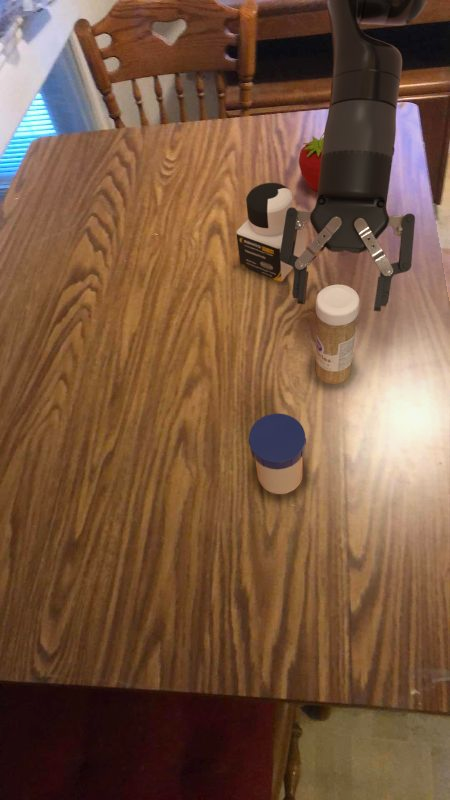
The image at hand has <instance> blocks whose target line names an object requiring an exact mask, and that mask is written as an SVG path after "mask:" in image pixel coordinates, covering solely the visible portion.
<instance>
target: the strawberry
mask: <svg viewBox="0 0 450 800" xmlns="http://www.w3.org/2000/svg"><path fill="white" fill-rule="evenodd" d="M323 137H324V132H323V133H322V134H321V136H320V138H319V139H317V138H316V137H315V136H312V141H309V142H303V145H304V146H303V147H302V149H301V150H300V152H299V156H298V166H299V169H300V174H301V176H302V177H303V179H304V180H305V182H306V184H307V185H308V186H309V187H310V188H311V190H313V191H315V192H318V184H319V175H320V165H321V156H322V147H323Z"/></svg>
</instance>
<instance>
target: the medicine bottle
mask: <svg viewBox="0 0 450 800" xmlns="http://www.w3.org/2000/svg"><path fill="white" fill-rule="evenodd" d="M245 202H246V203H245V204H246V211H247V219H246V220H245V221H244V223H243V224H242V225H241V226H240V227H239V228H238V229H237V230H236V232H235V233H236V234H235V235H236V242H237V249H238V250H237V251H238V257H239V264H240V265H239V266H240V267H241V268H243V269H246V270H248V271H252V272H254V273H256V274H259V275H262V276H264V277H267V278H269V279H271V280H275V281H277V282H283V281H284V280H285V279H286V277H287V276H288V275H289V274H290V273H291V271H293V270H294V268H293V267H292V266H290V265H288V264H286V263H284V262H282V261H281V260H280V251H281V244H282V238H283V231H284V225H285V218H286V212H287V210H288V209H289V208H291V207H293V208H294V206H293V193H292V191H291V189H289V188H288V187H287V186H286V185H284V184H281V183H279V182H265V183H260V184H259V185H256V186H255V187H253V188H252V189H251V190H249V192H248V193H247V195H246V198H245ZM306 249H307V223H306V224H305V226H304V228H303V229H302V230H297V237H296V243H295V249H294V255H295V256H297V257H300V256H301V254H302V253H303V252H304V251H305V250H306Z"/></svg>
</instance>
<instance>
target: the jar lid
mask: <svg viewBox="0 0 450 800" xmlns="http://www.w3.org/2000/svg"><path fill="white" fill-rule="evenodd" d="M248 445H249V449H250V453H251V456H252V458H253V459H254V461H255V460H256V461H257V462H258V463H259V464H261V465H262V466H264V467H267V468H270V469H277V470H278V469H285V468H288V467H290V466H292V465H294V464H295V463H297V462H298V461H299V460H300V459H301V457H302V458H303V457H304V453H305V451H306V445H307V438H306V432H305V428H304V427H303V425H302V424H301V422H300V421H299V420H298V419H296V418H295V417H293V416H291V415H288V414H285V413H270V414H267V415H264V416H262V417H261V418H259V419H257V420H256V421H255V422H254V424H253V425H252V427H251V428H250V431H249V434H248Z"/></svg>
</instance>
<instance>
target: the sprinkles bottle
mask: <svg viewBox="0 0 450 800" xmlns="http://www.w3.org/2000/svg"><path fill="white" fill-rule="evenodd" d="M359 311H360V296H359V294H358V293H357V291H356V290H355V289H353V288H352V287H351V286H349V285H345V284H338V283H337V284H330V285H328V286H326V287H324V288H322V289H321V290H320V291H319V292H318V294H317V295H316V299H315V313H316V316H317V317H316V318H317V319H316V322H317V323H316V337H315V374H316V377H317V378H318V379H319V380H320V381H321V382H323V383H325V384H328V385H329V384H330V385H337V384H341V383H344V382H345V381H347V380H348V379H349V377H350V375H351V371H352V370H351V369H352V362H353V356H354V350H355V349H354V348H355V336H356V324H357V317H358V315H359Z"/></svg>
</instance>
